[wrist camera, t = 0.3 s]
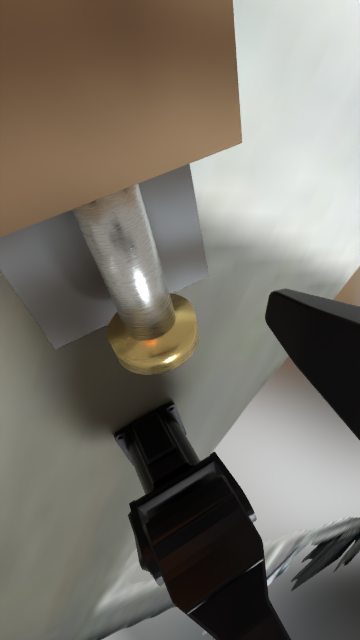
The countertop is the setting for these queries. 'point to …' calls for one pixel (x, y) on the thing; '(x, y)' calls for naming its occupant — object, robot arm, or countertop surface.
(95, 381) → the countertop surface
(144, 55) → the bearing block
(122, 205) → the shaft
